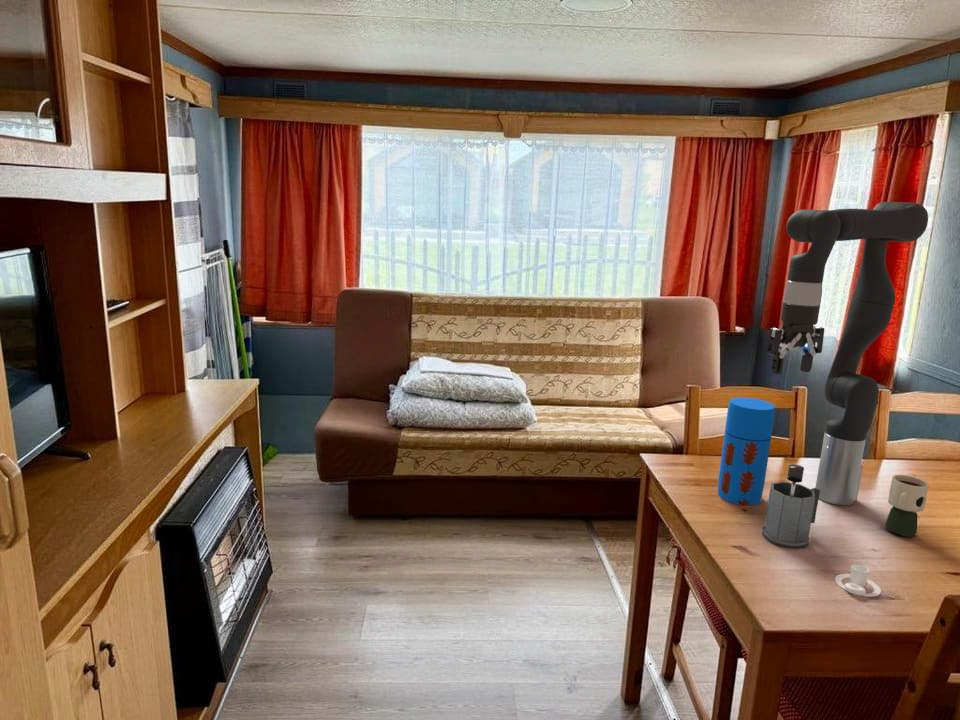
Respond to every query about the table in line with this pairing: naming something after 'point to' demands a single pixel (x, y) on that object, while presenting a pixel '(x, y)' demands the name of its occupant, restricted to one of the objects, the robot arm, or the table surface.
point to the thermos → (745, 450)
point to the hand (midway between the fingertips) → (790, 372)
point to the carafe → (790, 515)
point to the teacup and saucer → (858, 581)
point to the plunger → (795, 476)
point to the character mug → (906, 504)
